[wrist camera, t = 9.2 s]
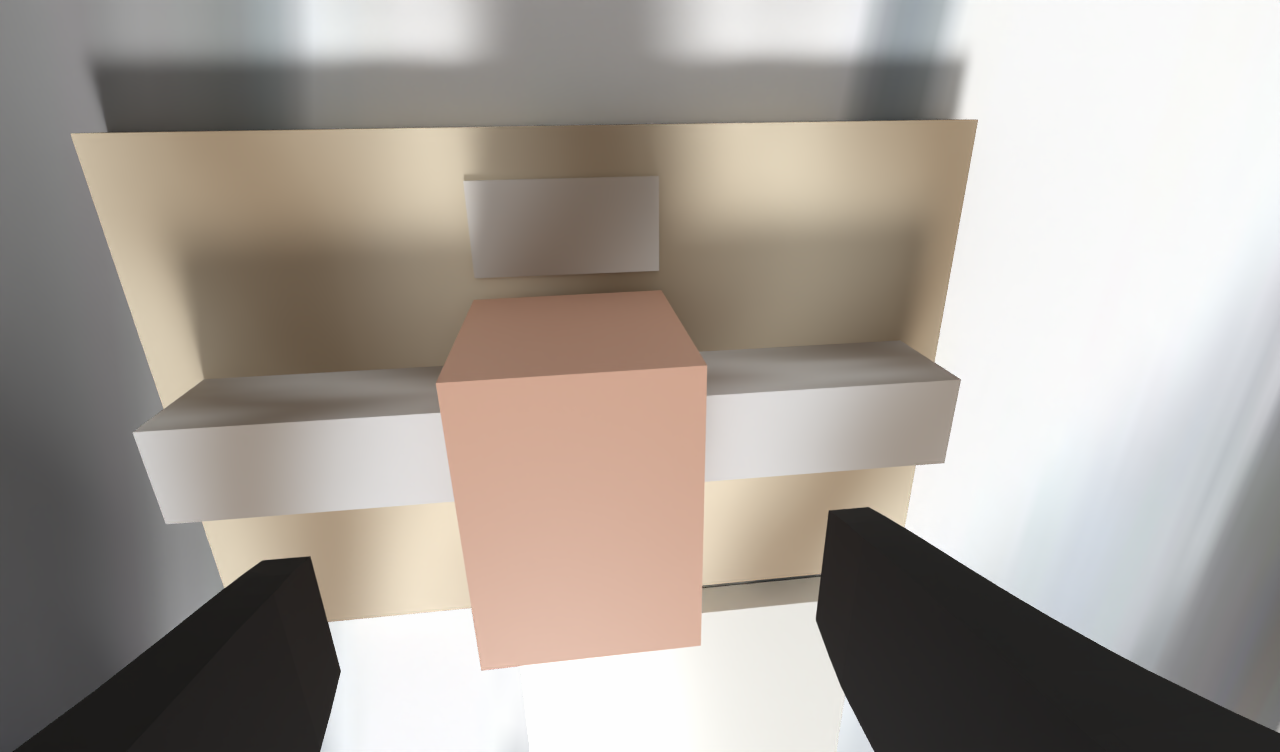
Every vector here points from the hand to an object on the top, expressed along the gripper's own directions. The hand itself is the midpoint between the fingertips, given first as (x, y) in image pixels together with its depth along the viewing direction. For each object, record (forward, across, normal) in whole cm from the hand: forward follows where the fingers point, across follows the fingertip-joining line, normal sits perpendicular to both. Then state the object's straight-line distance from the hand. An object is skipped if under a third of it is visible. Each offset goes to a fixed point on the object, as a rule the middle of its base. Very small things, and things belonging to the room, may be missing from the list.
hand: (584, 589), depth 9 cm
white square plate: (+8, -3, +12) cm, 14 cm away
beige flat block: (+8, 0, 0) cm, 8 cm away
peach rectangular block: (+6, 0, 0) cm, 6 cm away
